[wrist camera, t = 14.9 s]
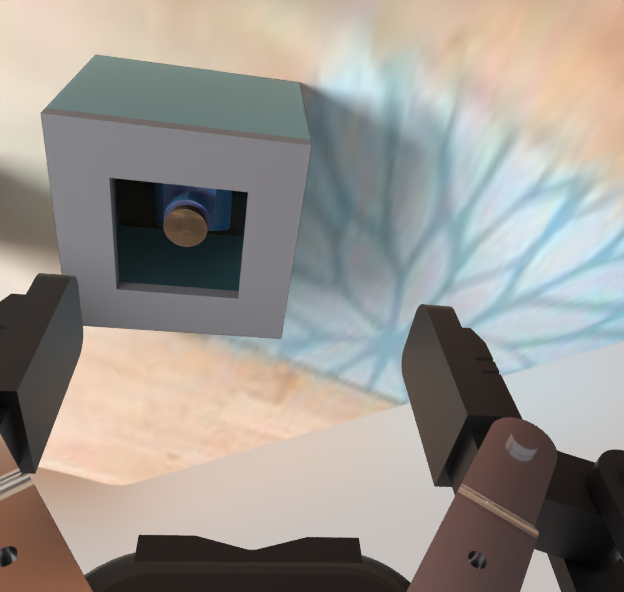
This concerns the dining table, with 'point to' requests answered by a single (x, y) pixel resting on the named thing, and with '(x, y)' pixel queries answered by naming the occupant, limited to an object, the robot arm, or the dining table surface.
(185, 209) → the perfume bottle
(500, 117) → the dining table surface
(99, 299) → the box
